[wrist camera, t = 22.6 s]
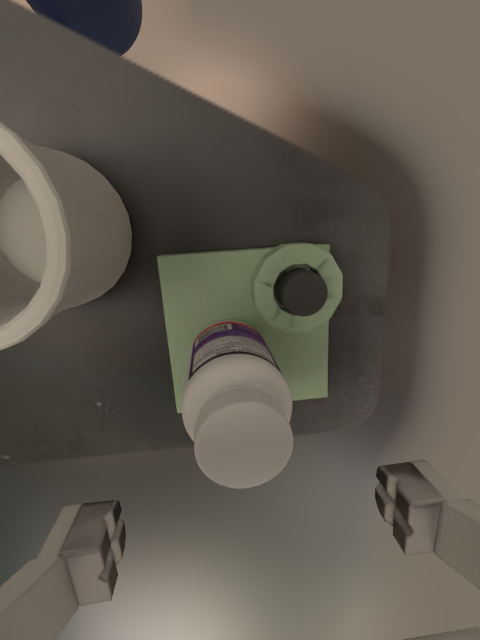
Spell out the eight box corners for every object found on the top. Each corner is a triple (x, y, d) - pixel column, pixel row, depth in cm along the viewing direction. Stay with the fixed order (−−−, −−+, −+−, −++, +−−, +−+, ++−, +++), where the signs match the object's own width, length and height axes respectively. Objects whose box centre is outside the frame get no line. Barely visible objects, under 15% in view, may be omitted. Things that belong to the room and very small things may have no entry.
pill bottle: (253, 398, 23) (285, 513, 14) (180, 381, 22) (160, 491, 13) (278, 329, 22) (330, 403, 12) (201, 308, 21) (195, 371, 12)
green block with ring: (159, 250, 21) (151, 254, 18) (326, 239, 22) (343, 240, 19) (178, 403, 24) (174, 426, 21) (324, 388, 25) (339, 408, 22)
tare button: (276, 269, 19) (282, 273, 18) (318, 266, 20) (328, 270, 18) (277, 311, 20) (283, 318, 18) (317, 307, 20) (327, 314, 19)
